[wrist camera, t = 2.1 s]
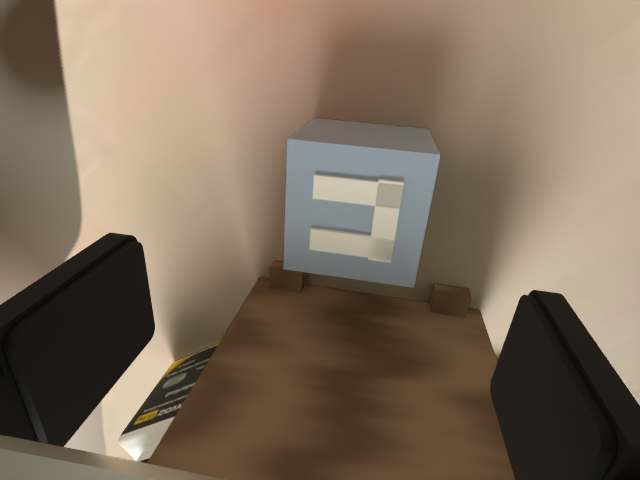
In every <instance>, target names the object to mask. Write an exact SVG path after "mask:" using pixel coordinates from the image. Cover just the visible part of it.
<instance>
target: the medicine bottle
mask: <svg viewBox="0 0 640 480" xmlns="http://www.w3.org/2000/svg"><path fill="white" fill-rule="evenodd" d="M218 345H219V344H216V345H214V346H212V347H209V348H207V349H204V350H202V351H200V352H197V353H195V354H192V355H190V356H187V357H185V358H183V359H180V360H178V361H175V362H174V363H172V364H171V366H170V367H169V369H168V370H167V371H166V373H165V374H164V376H163V377H162V378H161V380H160V381H159V383H158V384H157V385H156V387H155V388H154V389H153V391H152V392H151V394H150V395H149V396H148V398H147V399H146V401H145V402H144V403H143V405H142V406H141V408H140V409H139V410H138V412H137V413H136V415H135V416H134V417H133V419H132V420H131V421H130V423H129V424H128V426H127V427H126V428H125V430H124V431H123V433H122V434H121V435H120V437H119V444H120V445H121V446H122V447H123V448H124V449H125V450H126V451H127V452H128V453H129V454H130V455H131V456H132V457H133V458H134V459H135V460H136V461H137V462H142V463H147V462H148V460H149V459H150V457H151V455H152V454H153V452H154V450H155V449H156V447H157V445H158V444H159V442H160V440H161V439H162V437H163V435H164V434H165V432H166V431H167V429H168V427H169V426H170V424H171V422H172V421H173V419H174V417H175V416H176V414H177V412H178V411H179V409H180V407H181V406H182V404H183V402H184V401H185V399H186V397H187V396H188V394H189V393H190V391H191V389H192V388H193V386H194V384H195V383H196V381H197V379H198V378H199V376H200V374H201V373H202V371H203V369H204V368H205V366H206V364H207V363H208V361H209V359H210V358H211V356H212V354H213V353H214V351H215V350H216V348H217V346H218Z"/></svg>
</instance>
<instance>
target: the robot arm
mask: <svg viewBox="0 0 640 480" xmlns="http://www.w3.org/2000/svg"><path fill="white" fill-rule="evenodd" d="M154 331H155V323H154V316H153V310H152V303H151V297H150V290H149V284H148V277H147V271H146V264H145V257H144V251H143V246H142V244H141V243H140V242H137V239H136V238H135V237H134V236H132V235H124V234H117V233H109V234H106V235H105V236H103V237H102V238H100V239H99V240H97V241H96V242H94V243H93V244H91V245H90V246H88V247H87V248H85V249H84V250H82V251H81V252H79V253H78V254H76V255H75V256H73V257H72V258H70V259H69V260H67V261H66V262H64V263H63V264H61V265H60V266H58V267H57V268H55V269H54V270H52V271H51V272H49V273H48V274H46V275H45V276H43V277H42V278H40V279H39V280H37V281H36V282H34V283H33V284H31V285H30V286H28V287H27V288H25V289H24V290H22V291H21V292H19V293H18V294H16V295H15V296H13V297H12V298H10V299H9V300H7V301H6V302H4V303H3V304H1V305H0V480H226V479H221V478H216V477H211V476H206V475H201V474H197V473H192V472H187V471H182V470H177V469H172V468H167V467H162V466H157V465H152V464H147V463H142V462H137V461H132V460H127V459H122V458H117V457H112V456H106V455H101V454H96V453H91V452H86V451H81V450H76V449H71V448H66V447H64V445H65V444H66V443H67V442H68V441H69V440H70V438H71V437H72V436H73V435H74V433H75V432H76V431H77V430H78V429H79V427H80V426H81V425H82V424H83V422H84V421H85V420H86V419H87V417H88V416H89V415H90V414H91V412H92V411H93V410H94V409H95V408H96V406H97V405H98V404H99V403H100V402H101V400H102V399H103V398H104V397H105V395H106V394H107V393H108V392H109V390H110V389H111V388H112V387H113V386H114V384H115V383H116V382H117V381H118V379H119V378H120V377H121V376H122V374H123V373H124V372H125V371H126V370H127V368H128V367H129V366H130V365H131V363H132V362H133V361H134V360H135V359H136V357H137V356H138V355H139V354H140V352H141V351H142V350H143V349H144V347H145V346H146V345H147V344H148V343H149V341H150V340H151V339H152V337H153V334H154ZM490 393H491V398H492V402H493V405H494V408H495V412H496V415H497V419H498V422H499V426H500V429H501V433H502V436H503V440H504V443H505V447H506V450H507V454H508V457H509V460H510V464H511V467H512V471H513V474H514V478H515V480H640V406H639V404H638V403H637V401H636V400H635V398H634V397H633V396H632V394H631V393H630V391H629V390H628V388H627V387H626V385H625V384H624V383H623V381H622V380H621V378H620V377H619V375H618V374H617V373H616V371H615V370H614V368H613V367H612V365H611V364H610V362H609V361H608V360H607V358H606V357H605V355H604V354H603V352H602V351H601V349H600V348H599V347H598V345H597V344H596V342H595V341H594V339H593V338H592V337H591V335H590V334H589V332H588V331H587V329H586V328H585V326H584V325H583V324H582V322H581V321H580V319H579V318H578V316H577V315H576V313H575V312H574V311H573V309H572V308H571V306H570V305H569V303H568V302H567V300H566V299H565V298H564V296H563V295H562V294H559V293H552V292H545V291H537V290H533V291H531V292H530V293H529V295H523V296H522V297H521V298H520V300H519V303H518V305H517V308H516V311H515V314H514V317H513V320H512V322H511V325H510V328H509V331H508V334H507V337H506V339H505V342H504V345H503V348H502V351H501V354H500V357H499V359H498V362H497V365H496V368H495V371H494V374H493V376H492V379H491V384H490Z"/></svg>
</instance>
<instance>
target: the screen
mask: <svg viewBox="0 0 640 480" xmlns="http://www.w3.org/2000/svg"><path fill="white" fill-rule="evenodd" d="M283 264H284V262H278V261H274V262H273V264H272V266H271V267H270V279H265V278H258V280H257V282H256V283H255V285H254V287H253V288H252V290H251V292H250V293H249V295H248V297H247V298H246V300H245V302H244V303H243V305H242V307H241V308H240V310H239V311H238V313H237V315H236V316H235V318H234V320H233V321H232V323H231V325H230V326H229V328H228V330H227V331H226V333H225V335H224V336H223V338H222V340H221V341H220V343H219V345H218V346H217V348H216V350H215V351H214V353H213V354H212V356H211V358H210V359H209V361H208V363H207V364H206V366H205V368H204V369H203V371H202V373H201V374H200V376H199V378H198V379H197V381H196V383H195V384H194V386H193V388H192V389H191V391H190V393H189V394H188V396H187V397H186V399H185V401H184V402H183V404H182V406H181V407H180V409H179V411H178V412H177V414H176V416H175V417H174V419H173V421H172V422H171V424H170V426H169V427H168V429H167V431H166V432H165V434H164V435H163V437H162V439H161V440H160V442H159V444H158V445H157V447H156V449H155V450H154V452H153V454H152V455H151V457H150V459H149V460H148V462H147V464H152V465H157V466H162V467H167V468H172V469H177V470H182V471H187V472H192V473H197V474H201V475H206V476H211V477H216V478H221V479H226V480H515V478H514V474H513V471H512V467H511V464H510V460H509V457H508V454H507V450H506V447H505V443H504V440H503V436H502V433H501V429H500V426H499V422H498V419H497V415H496V412H495V408H494V405H493V402H492V398H491V393H490V384H491V379H492V376H493V374H494V371H495V368H496V365H497V360H496V357H495V354H494V351H493V348H492V345H491V342H490V339H489V336H488V333H487V330H486V327H485V324H484V321H483V318H482V315H481V312H480V310H474V309H468V308H469V304H470V301H471V295H470V292H469V289H467V288H460V287H453V286H446V285H439V284H434V288H433V292H432V296H431V301H430V303H427V302H420V301H413V300H406V299H400V298H393V297H386V296H380V295H373V294H366V293H359V292H353V291H346V290H339V289H333V288H326V287H319V286H312V285H306V284H304V274H305V272H299V271H292V270H285V269H283Z"/></svg>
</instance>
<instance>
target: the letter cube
mask: <svg viewBox="0 0 640 480" xmlns="http://www.w3.org/2000/svg"><path fill="white" fill-rule="evenodd" d="M440 155H441V154H440V152H439V150H438V148H437V146H436V144H435V142H434V140H433V138H432V135H431V133H430V131H429V129H426V128H416V127H405V126H395V125H384V124H374V123H363V122H353V121H342V120H332V119H321V118H313V119H312V120H310V121H309V122H308V123H307V124H305V125H304V126H303V127H302V128H300V129H299V130H298V131H297V132H295V133H294V134H293V135H292V136H290V137H289V138H288V139H287V165H286V198H285V231H284V264H283V269H285V270H292V271H299V272H306V273H313V274H320V275H327V276H334V277H341V278H348V279H355V280H362V281H369V282H376V283H383V284H390V285H397V286H404V287H411V288H414V286H415V281H416V276H417V271H418V266H419V261H420V256H421V250H422V245H423V240H424V235H425V230H426V225H427V220H428V215H429V210H430V205H431V200H432V195H433V190H434V185H435V180H436V175H437V170H438V165H439V160H440Z"/></svg>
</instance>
